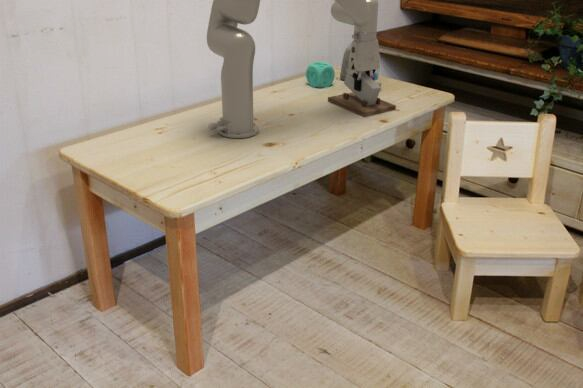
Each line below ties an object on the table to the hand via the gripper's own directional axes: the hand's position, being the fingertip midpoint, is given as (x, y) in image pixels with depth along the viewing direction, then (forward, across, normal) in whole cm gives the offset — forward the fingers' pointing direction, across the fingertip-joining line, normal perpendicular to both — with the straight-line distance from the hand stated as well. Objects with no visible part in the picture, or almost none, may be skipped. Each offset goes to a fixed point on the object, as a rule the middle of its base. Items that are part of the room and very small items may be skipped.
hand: (362, 88), depth 219 cm
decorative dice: (+6, +3, +28) cm, 29 cm away
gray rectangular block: (+2, 0, +1) cm, 2 cm away
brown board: (+6, 0, 0) cm, 6 cm away
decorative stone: (+6, +19, +29) cm, 35 cm away
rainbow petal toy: (+6, +15, +14) cm, 22 cm away
